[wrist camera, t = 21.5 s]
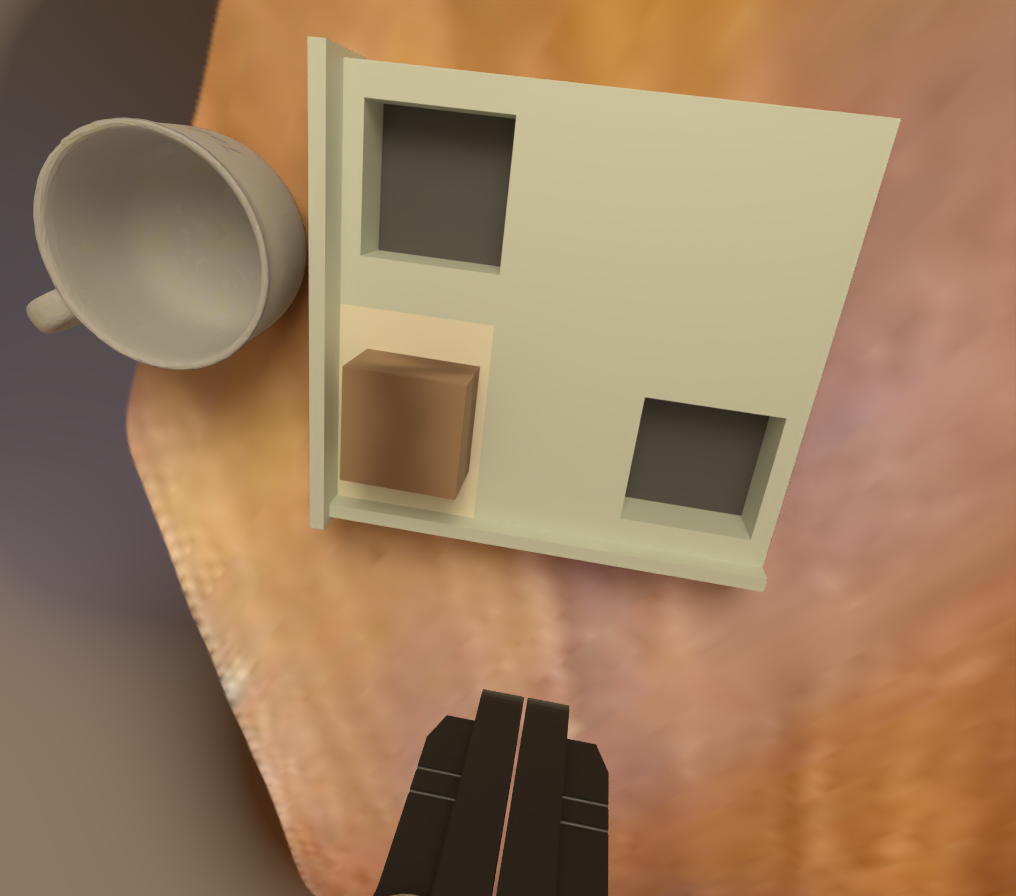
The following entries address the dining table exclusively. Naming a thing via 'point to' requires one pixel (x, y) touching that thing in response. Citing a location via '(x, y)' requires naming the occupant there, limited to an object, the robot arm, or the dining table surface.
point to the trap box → (584, 299)
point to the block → (407, 422)
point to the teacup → (165, 241)
